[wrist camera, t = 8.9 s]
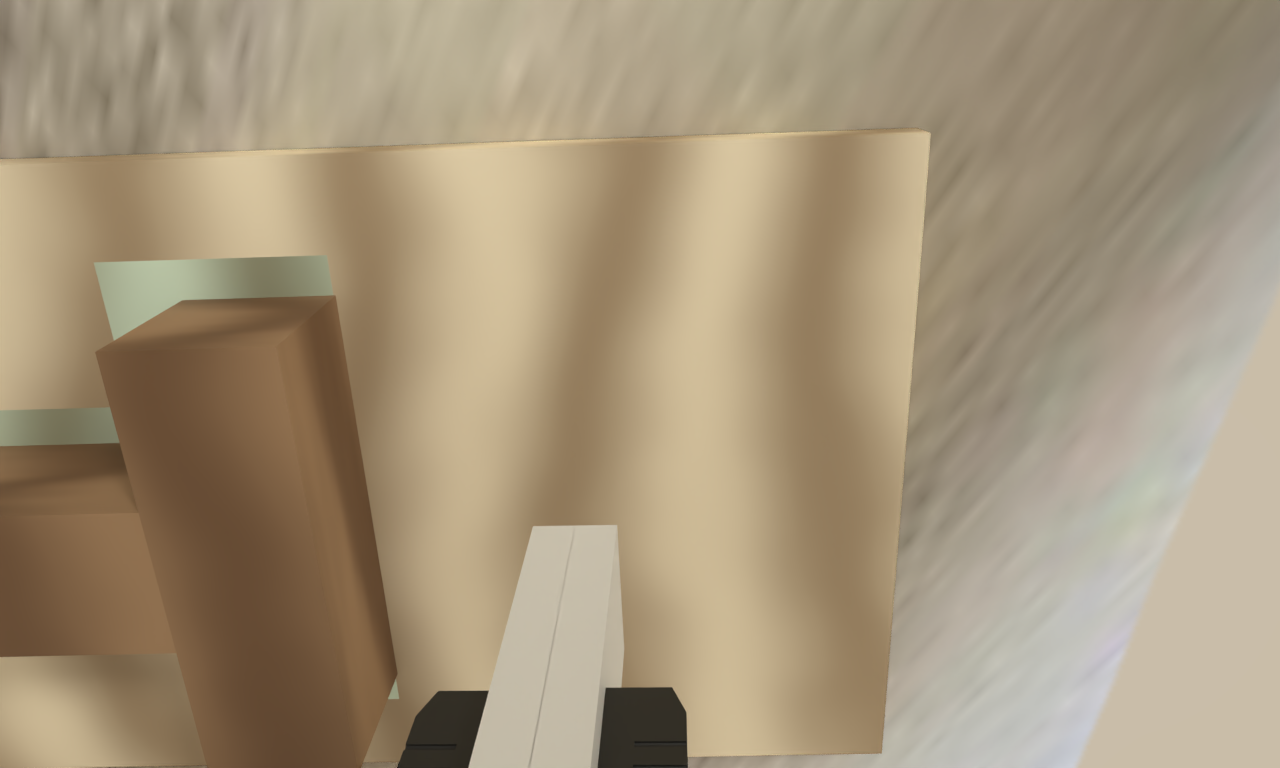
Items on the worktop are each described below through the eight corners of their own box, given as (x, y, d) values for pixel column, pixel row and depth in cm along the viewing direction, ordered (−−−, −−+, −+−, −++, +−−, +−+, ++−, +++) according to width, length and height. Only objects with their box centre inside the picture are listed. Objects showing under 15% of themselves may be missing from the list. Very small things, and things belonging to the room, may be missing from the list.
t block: (335, 295, 24) (276, 346, 20) (397, 673, 28) (358, 773, 24) (-120, 309, 24) (-263, 362, 20) (12, 682, 28) (-85, 782, 25)
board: (917, 127, 23) (930, 133, 22) (873, 726, 30) (881, 753, 29) (-246, 167, 24) (-291, 175, 23) (-26, 742, 31) (-52, 770, 30)
